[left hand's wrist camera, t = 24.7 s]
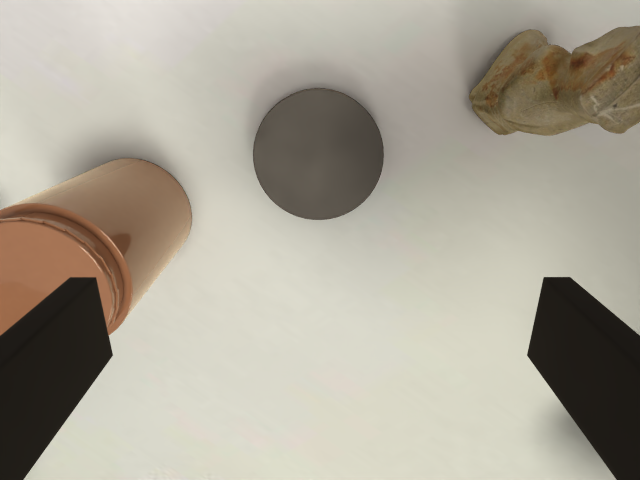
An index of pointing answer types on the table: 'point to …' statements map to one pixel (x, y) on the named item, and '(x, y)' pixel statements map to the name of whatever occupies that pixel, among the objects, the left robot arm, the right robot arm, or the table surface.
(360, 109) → the lid
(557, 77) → the sculpture
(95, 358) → the left robot arm
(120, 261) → the jar
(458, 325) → the table surface
